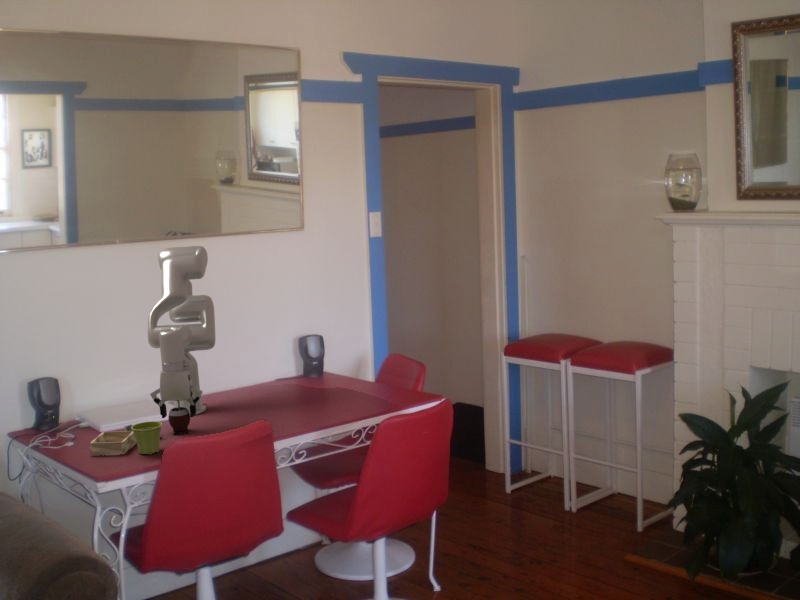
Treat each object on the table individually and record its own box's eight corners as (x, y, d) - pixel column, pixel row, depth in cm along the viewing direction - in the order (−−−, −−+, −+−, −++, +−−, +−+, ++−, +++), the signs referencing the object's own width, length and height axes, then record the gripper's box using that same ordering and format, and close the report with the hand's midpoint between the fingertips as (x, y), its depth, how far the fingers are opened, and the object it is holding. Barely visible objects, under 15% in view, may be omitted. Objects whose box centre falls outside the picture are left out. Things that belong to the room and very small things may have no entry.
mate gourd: (181, 436, 310) (176, 392, 307) (163, 433, 314) (159, 390, 311) (196, 430, 316) (192, 386, 313) (179, 427, 320) (175, 384, 318)
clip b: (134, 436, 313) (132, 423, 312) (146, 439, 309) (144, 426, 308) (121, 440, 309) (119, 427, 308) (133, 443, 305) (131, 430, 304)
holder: (104, 443, 306) (103, 431, 306) (136, 442, 306) (135, 430, 305) (90, 455, 295) (89, 443, 294) (124, 454, 294) (122, 442, 293)
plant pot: (137, 448, 300) (134, 422, 298) (167, 446, 301) (164, 419, 299) (131, 458, 291) (128, 431, 289) (161, 455, 291) (159, 428, 290)
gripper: (202, 362, 314) (207, 412, 317) (151, 364, 315) (156, 414, 318) (196, 368, 307) (201, 418, 310) (144, 370, 308) (149, 420, 311)
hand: (178, 416), depth 314 cm, fingers open, 9 cm apart
